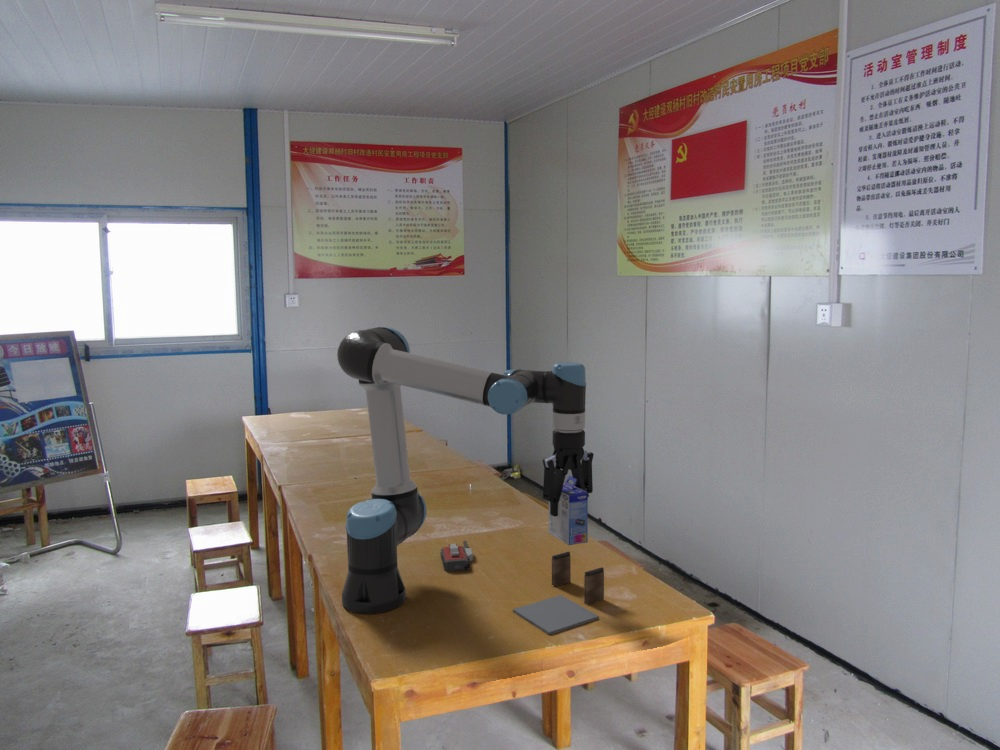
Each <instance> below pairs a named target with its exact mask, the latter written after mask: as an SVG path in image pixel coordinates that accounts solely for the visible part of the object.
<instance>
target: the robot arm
mask: <svg viewBox="0 0 1000 750" xmlns="http://www.w3.org/2000/svg"><path fill="white" fill-rule="evenodd" d="M410 348H411V347H410V345H409V342H408V340H407V339H406V337H405V336H404V334H402V333H401V332H400V331H399V330H397V329H395V328H393V327H388V326H383V327H381V326H377V327H373V328H372V327H371V328H367V329H360V330H359V329H358V330H354V331H353V332H349V333H347V334H346V336H344V338H343V339H342V340H341V341H340V343H339V345H338V348H337V354H336V356H337V361H338V366H339V367H340V369H341V371H343V372H344V374H346V375H347V376H349V377H351V378H352V379H356V380H358V385H359V386H361V387H362V388H363V389H364V390H365V395H366V404H367V410H368V411H367V412H368V421H369V430H370V437H371V447H372V455H373V456H372V457H373V466H374V474H375V484H374V486H373V487H372V489H371V490H370V493H371V499H366V500H365V501H359V502H357V503H355V504H354V505H352V506H351V507H350V508H349V510H348V511H347V513H346V521H345V531H346V544H347V545H346V547H347V569H348V572H347V575H346V578H345V583H344V586H343V589H342V591H341V592H342V593H341V604H342V606H343V607H344V609H346V610H347V611H349V612H354V613H357V614H378V613H384V612H388V611H391V610H392V611H393V610H394V609H396V608H399V607H401V606H402V605H403V604H404V603H405V602H406V598H407V595H406V594H407V593H406V586H405V584H404V581H403V578H402V576H401V573H400V570H399V567H398V546H399V545H401V544H402V543H403V542H404V541H406V540H408V538H410V537H412V536H414V535H415V534H416V533H417V532H418V531H419V530H420V528H421V527H422V526H423V525H424V523H425V521H426V517H427V503H426V501H425V498H424V496H421V494H420V492H419V491H418V485H417V483H416V482H414V481H413V480H412V479H411V471H410V464H409V457H408V455H409V454H408V445H407V437H406V436H407V435H406V426H405V418H404V410H403V409H404V408H403V399H402V390H401V387H402V386H404V387H408V388H411V389H416V390H420V391H423V392H428V393H432V394H437V395H441V396H445V397H449V398H453V399H458V400H460V401H461V400H462V401H465V402H469V403H474V404H478V405H481V406H487V407H489V408H492V410H493V411H494V412H495V413H498V414H499V415H512V414H515V413H518V412H520V411H521V410H522V409H524V407H526V406H527V405H529V404H552V428H553V430H552V443H551V444H552V447H553V452H552V455H551V456H550V457H548V458H547V457H544V458H543V459H542V464H543V469H544V470H543V471H544V472H543V487H542V491H543V492H542V499H543V500H544V501H547V502H549V501H550V514H551V515H552V528H555V529H557V530H559V531H560V530H562V503H561V502H559V501H560V496H561V492H562V488H563V484H564V483H565V480H566V475H568V472H569V470H570V472H571V477H573V478H575V479H577V482H576V484H575V487H578V488H580V489H582V490H584V491H587V492H588V498H589V497H590V494H592V493H593V490H594V487H593V484H594V483H593V460H594V459H593V458H594V456H595V455H594V453H593V452H591V451H588V450H585V449H584V446H585V445H586V431H585V430H584V429H585V428H586V393H587V392H586V391H587V381H586V380H587V379H586V368H585V366H584V364H582V363H579V362H569V361H567V362H556V363H554V364H553V365H552V366H553V367H552V369H551V370H547V371H546V370H528V369H527V370H526V369H521V368H520V369H519V368H518V369H507V370H505V371H504V373H502V374H500V373H495V372H493V371H489V370H484V369H480V368H475V367H470V366H468V365H467V366H465V365H463V364H458V363H454V362H449V361H446V360H445V361H444V360H441V359H436V358H432V357H428V356H424V355H420V354H415V353H411V350H410Z"/></svg>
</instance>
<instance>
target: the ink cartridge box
mask: <svg viewBox="0 0 1000 750" xmlns="http://www.w3.org/2000/svg"><path fill="white" fill-rule="evenodd" d="M565 480H566V481H565V482H564V484H563V488H562V492H561V496H560V501H559V502H561V503H562V530H560V531H559V530H557V529H555V528H552V515H551V514H550V501H548V534H549V535H551V536H552V537H554V538H556V539H557V540H559V541H561V542H563V543H564V544H565V545H567V546H572V545H580V544H585V543H586V544H587V543H588V537H589V536H588V530H589V529H588V527H589V525H588V524H589V522H588V517H589V515H588V510H589V509H588V499H589V497H588V492H587V491H584V490H582V489H580V488H578V487H575V484H576V482H577V479H575V478H573V477H572V475H569V476H568V477H567V479H565ZM569 481H572V482H573V483H571V482H569Z"/></svg>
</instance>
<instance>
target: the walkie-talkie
mask: <svg viewBox="0 0 1000 750" xmlns="http://www.w3.org/2000/svg"><path fill="white" fill-rule="evenodd" d="M462 544H463V546H461V545H458V543H449V544H448V546H445V547H442V548H441V549H440V551H439V553H440V559H441V562H442V565H443V566H442V567H443V569H444V572H456V571H457V572H458V571H459V572H460V571H468V570H469V569H470V570H471V562H472V561H473V560H474V553H473V548H472V547H469V545H468V541H467V540H464V541H462Z"/></svg>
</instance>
